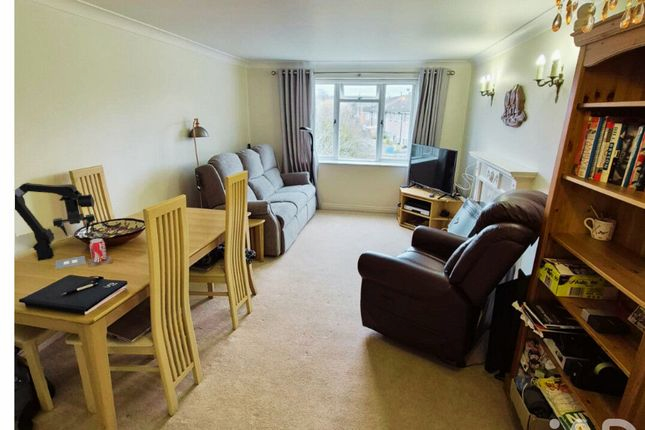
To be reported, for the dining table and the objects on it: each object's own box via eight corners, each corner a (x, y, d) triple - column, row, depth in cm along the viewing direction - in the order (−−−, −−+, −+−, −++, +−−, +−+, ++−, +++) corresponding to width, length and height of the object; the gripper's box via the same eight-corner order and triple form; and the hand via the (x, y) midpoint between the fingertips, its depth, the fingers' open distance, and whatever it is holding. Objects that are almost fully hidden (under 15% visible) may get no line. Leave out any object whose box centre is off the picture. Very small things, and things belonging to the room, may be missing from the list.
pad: (88, 267, 180) (88, 266, 180) (87, 260, 189) (87, 259, 189) (113, 262, 187) (113, 262, 186) (110, 255, 195) (110, 255, 195)
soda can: (100, 264, 184) (96, 243, 180) (89, 262, 185) (85, 241, 182) (110, 259, 190) (107, 238, 187) (99, 257, 192) (96, 237, 188)
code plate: (55, 269, 177) (55, 268, 177) (55, 261, 186) (55, 260, 186) (85, 263, 185) (85, 263, 185) (84, 256, 194) (84, 255, 194)
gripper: (50, 213, 177) (56, 242, 181) (93, 208, 187) (98, 235, 192) (50, 208, 185) (56, 236, 190) (92, 204, 196) (96, 230, 200)
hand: (77, 234), depth 193 cm, fingers open, 9 cm apart
